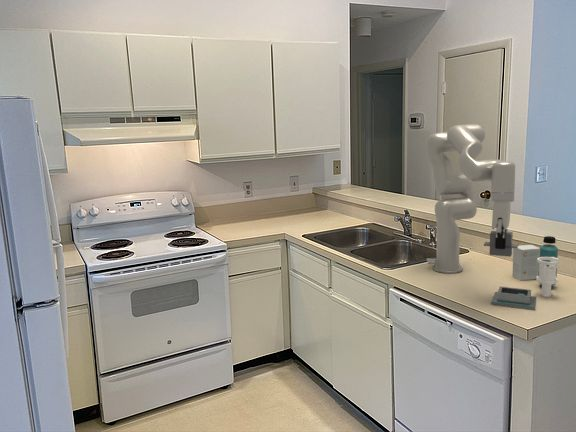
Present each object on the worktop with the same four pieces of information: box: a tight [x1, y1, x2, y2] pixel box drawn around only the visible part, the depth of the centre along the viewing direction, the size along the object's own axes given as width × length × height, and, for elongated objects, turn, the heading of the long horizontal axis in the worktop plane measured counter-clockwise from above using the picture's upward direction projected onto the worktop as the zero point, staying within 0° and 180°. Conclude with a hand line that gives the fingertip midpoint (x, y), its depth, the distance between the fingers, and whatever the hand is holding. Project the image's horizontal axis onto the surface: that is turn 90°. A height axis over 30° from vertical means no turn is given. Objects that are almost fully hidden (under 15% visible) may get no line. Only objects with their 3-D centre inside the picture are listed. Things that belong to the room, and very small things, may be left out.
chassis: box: [490, 286, 537, 311], centre depth 176 cm, size 14×11×4 cm
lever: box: [483, 229, 519, 258], centre depth 176 cm, size 11×4×9 cm, turn 60°
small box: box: [511, 244, 540, 281], centre depth 200 cm, size 8×6×13 cm
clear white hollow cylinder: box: [535, 257, 560, 298], centre depth 180 cm, size 7×7×15 cm
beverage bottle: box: [538, 235, 559, 287], centre depth 188 cm, size 6×7×20 cm
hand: (501, 246), depth 176 cm, fingers closed on lever, 4 cm apart
